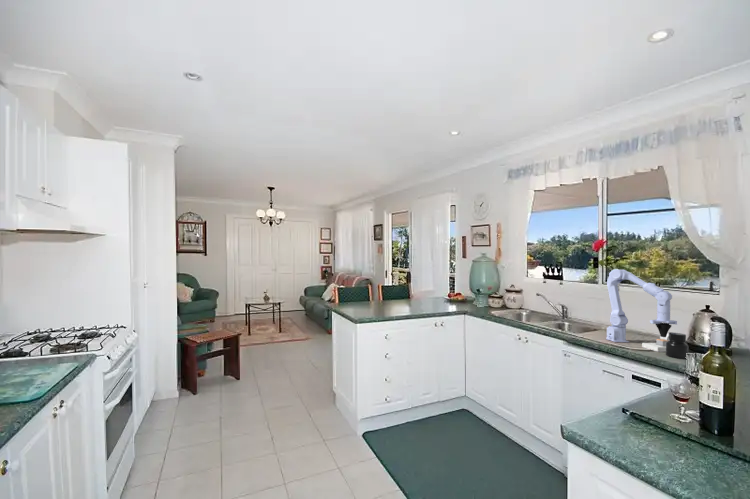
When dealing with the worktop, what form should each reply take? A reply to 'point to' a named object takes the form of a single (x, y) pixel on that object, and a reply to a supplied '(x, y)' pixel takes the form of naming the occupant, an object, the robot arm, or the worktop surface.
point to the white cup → (665, 337)
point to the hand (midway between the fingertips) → (663, 336)
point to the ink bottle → (677, 346)
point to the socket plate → (654, 347)
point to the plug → (661, 342)
